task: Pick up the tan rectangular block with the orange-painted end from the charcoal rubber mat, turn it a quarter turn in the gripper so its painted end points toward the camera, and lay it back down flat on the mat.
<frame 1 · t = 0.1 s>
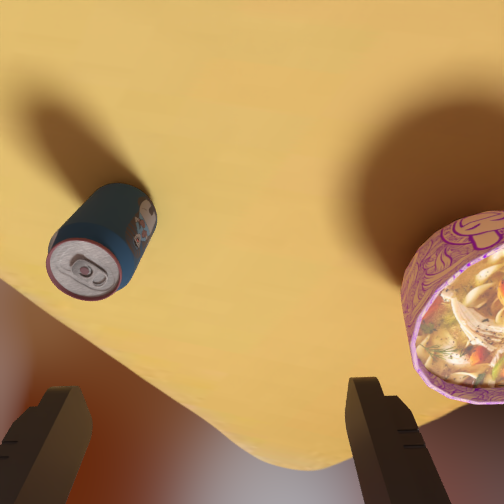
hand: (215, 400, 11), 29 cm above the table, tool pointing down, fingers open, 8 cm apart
bowl of food: (460, 261, 44), on the table
soda can: (127, 209, 40), on the table
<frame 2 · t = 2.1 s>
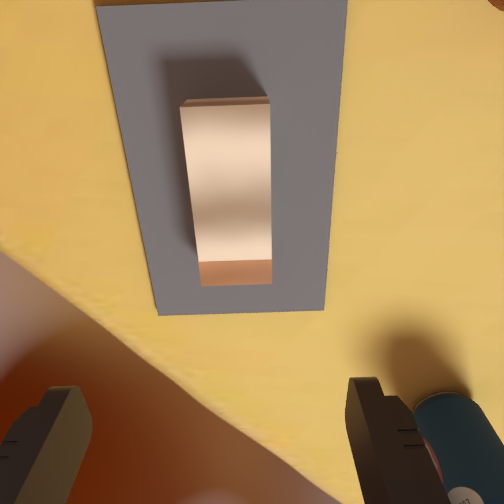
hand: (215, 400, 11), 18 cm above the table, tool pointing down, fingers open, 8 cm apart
soda can: (439, 408, 39), on the table
tan rectangular block: (229, 130, 24), point 1 cm above the table, touching mat
mat: (233, 187, 27), on the table
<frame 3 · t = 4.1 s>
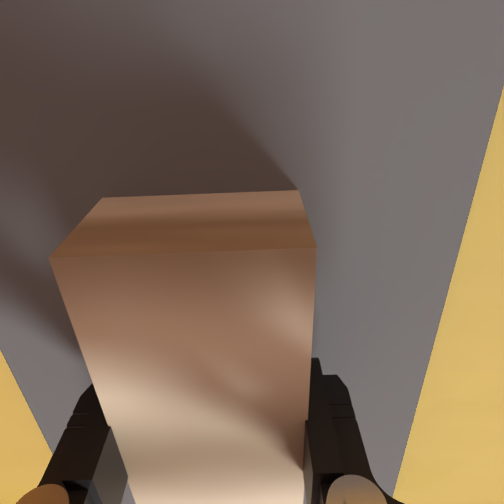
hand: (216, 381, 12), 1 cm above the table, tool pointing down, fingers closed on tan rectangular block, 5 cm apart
tan rectangular block: (207, 261, 11), point 1 cm above the table, touching gripper, mat
mat: (220, 352, 13), on the table
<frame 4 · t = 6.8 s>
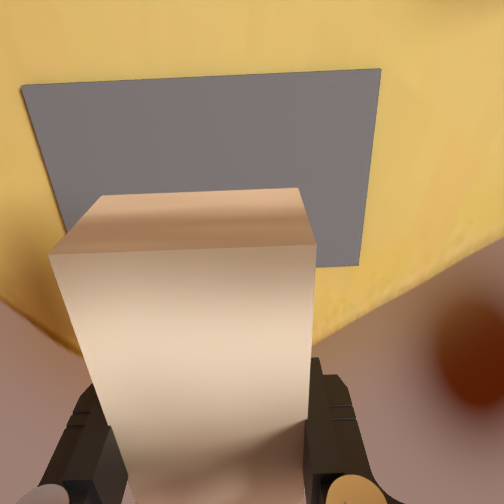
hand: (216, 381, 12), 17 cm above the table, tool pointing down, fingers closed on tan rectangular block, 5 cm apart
tan rectangular block: (207, 259, 11), point 17 cm above the table, touching gripper
mat: (211, 184, 27), on the table
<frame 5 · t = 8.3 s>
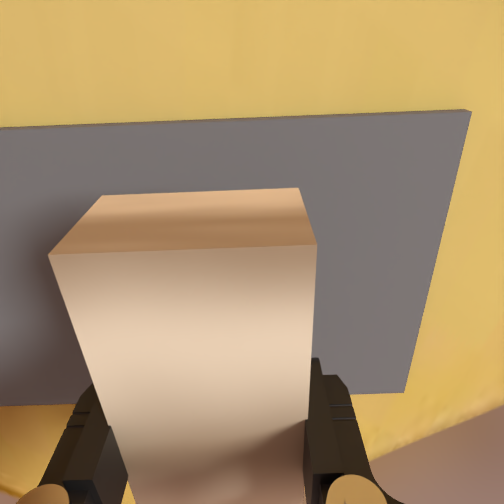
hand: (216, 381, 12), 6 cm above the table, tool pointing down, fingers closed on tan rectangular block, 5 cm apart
tan rectangular block: (207, 259, 11), point 5 cm above the table, touching gripper
mat: (178, 284, 17), on the table
when the fingers open (2 cm above the table, at t = 9.4 s): tan rectangular block drops 1 cm, resting on mat.
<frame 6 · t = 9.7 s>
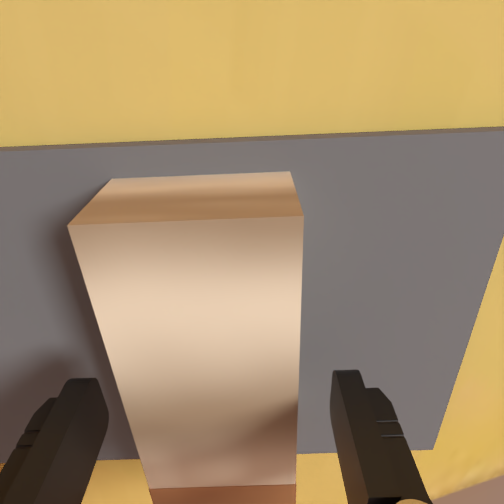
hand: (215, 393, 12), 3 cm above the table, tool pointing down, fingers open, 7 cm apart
tan rectangular block: (207, 238, 12), point 1 cm above the table, touching mat
mat: (167, 332, 14), on the table
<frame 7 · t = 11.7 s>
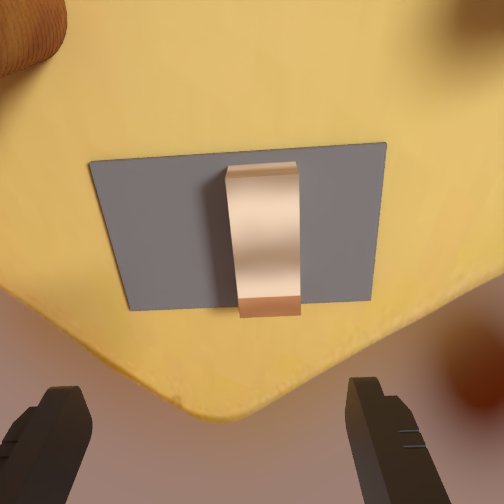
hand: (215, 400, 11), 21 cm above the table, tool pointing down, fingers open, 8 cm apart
disposable coffee cup: (18, 7, 24), on the table
tan rectangular block: (263, 189, 29), point 1 cm above the table, touching mat
mat: (242, 235, 32), on the table
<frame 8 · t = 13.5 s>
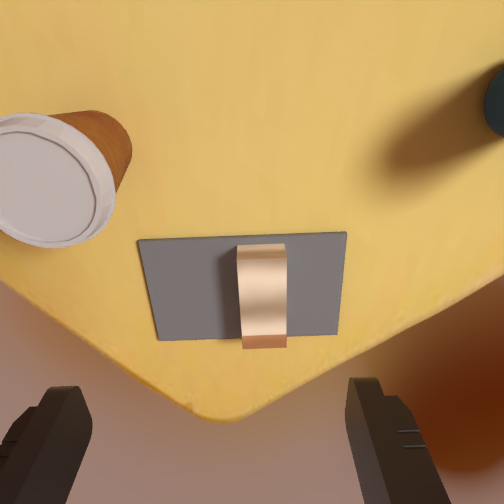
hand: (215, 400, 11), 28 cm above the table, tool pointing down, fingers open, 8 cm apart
disposable coffee cup: (98, 145, 36), on the table
tan rectangular block: (261, 260, 41), point 1 cm above the table, touching mat
mat: (245, 289, 44), on the table
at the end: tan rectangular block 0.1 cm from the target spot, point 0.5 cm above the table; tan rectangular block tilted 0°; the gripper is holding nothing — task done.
